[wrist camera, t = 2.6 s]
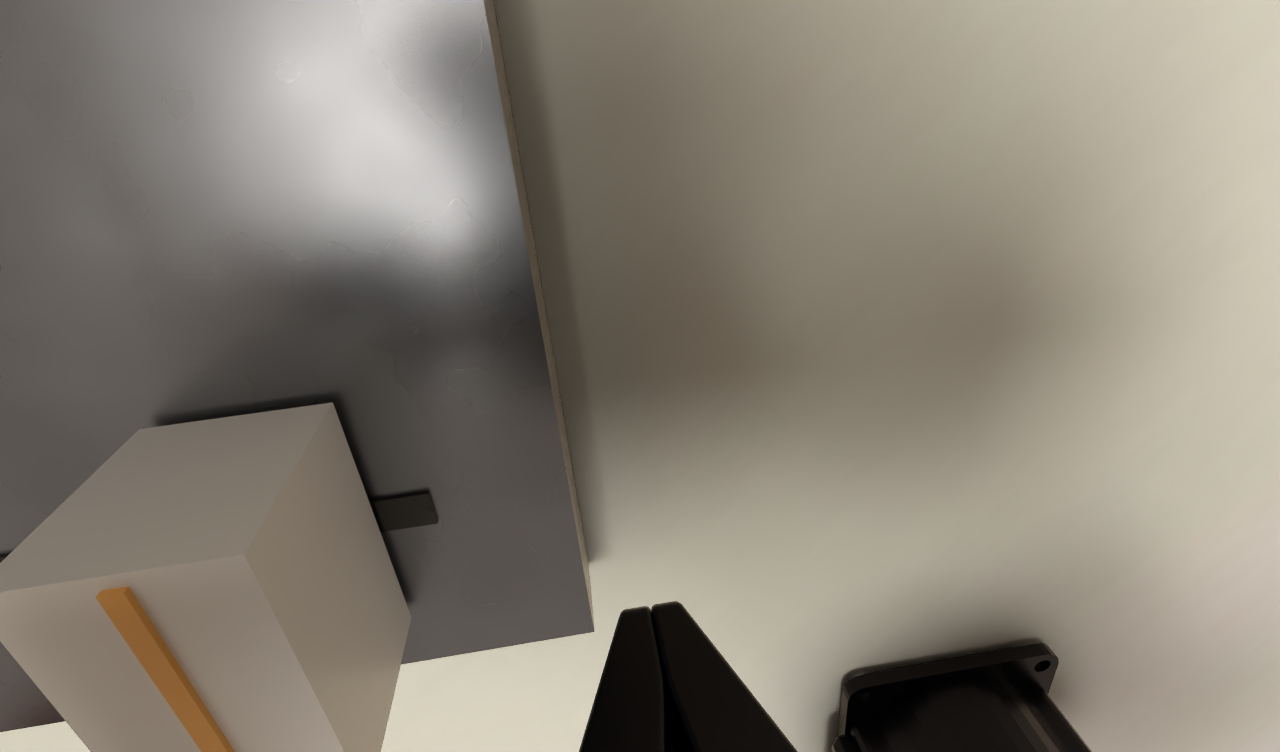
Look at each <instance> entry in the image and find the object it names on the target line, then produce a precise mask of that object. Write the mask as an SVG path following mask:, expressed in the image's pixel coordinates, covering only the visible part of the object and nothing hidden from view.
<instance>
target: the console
mask: <svg viewBox="0 0 1280 752" xmlns="http://www.w3.org/2000/svg"><path fill="white" fill-rule="evenodd" d="M332 402H333V404H334V407H335V410H336V413H337V415H338V418H339V421H340V424H341V426H342V429H343V432H344V435H345V437H346V440H347V443H348V445H349V448H350V451H351V454H352V456H353V459H354V462H355V465H356V467H357V470H358V473H359V475H360V478H361V481H362V484H363V486H364V489H365V492H366V495H367V497H368V500H369V503H370V506H371V508H372V511H373V514H374V516H375V519H376V522H377V525H378V527H379V530H380V533H381V536H382V538H383V541H384V544H385V546H386V549H387V552H388V555H389V557H390V560H391V563H392V566H393V568H394V571H395V574H396V577H397V579H398V582H399V585H400V587H401V590H402V593H403V596H404V598H405V601H406V604H407V607H408V609H409V612H410V615H411V617H412V618H411V622H410V626H409V631H408V635H407V639H406V644H405V648H404V652H403V657H402V661H401V664H406V663H412V662H418V661H424V660H430V659H436V658H441V657H447V656H453V655H459V654H465V653H471V652H477V651H483V650H489V649H495V648H501V647H507V646H513V645H518V644H524V643H530V642H536V641H542V640H548V639H554V638H560V637H566V636H572V635H578V634H584V633H589V632H594V621H593V609H592V597H591V586H590V574H589V564H588V558H587V552H586V546H585V540H584V534H583V528H582V522H581V516H580V510H579V504H578V499H577V493H576V487H575V481H574V475H573V469H572V463H571V457H570V451H569V445H568V439H567V434H566V428H565V422H564V416H563V410H562V404H561V398H560V392H559V386H558V380H557V374H556V369H555V363H554V357H553V351H552V345H551V339H550V333H549V327H548V321H547V315H546V310H545V304H544V298H543V292H542V286H541V280H540V274H539V268H538V262H537V256H536V250H535V245H534V239H533V233H532V227H531V221H530V215H529V209H528V203H527V197H526V191H525V185H524V180H523V174H522V168H521V162H520V156H519V150H518V144H517V138H516V132H515V126H514V120H513V115H512V109H511V103H510V97H509V91H508V85H507V79H506V73H505V67H504V61H503V55H502V50H501V44H500V38H499V32H498V26H497V20H496V14H495V8H494V2H493V0H0V563H1V562H2V561H3V560H4V559H5V558H6V557H7V556H8V555H9V554H10V553H11V552H12V551H13V550H14V549H15V548H16V547H17V546H18V545H19V544H21V543H22V542H23V541H24V540H25V539H26V538H27V537H28V536H29V535H30V534H31V533H32V532H33V531H34V530H35V529H36V528H37V527H38V526H39V525H40V524H41V523H42V522H43V521H44V520H45V519H46V518H48V517H49V516H50V515H51V514H52V513H53V512H54V511H55V510H56V509H57V508H58V507H59V506H60V505H61V504H62V503H63V502H64V501H65V500H66V499H67V498H68V497H69V496H70V495H71V494H72V493H74V492H75V491H76V490H77V489H78V488H79V487H80V486H81V485H82V484H83V483H84V482H85V481H86V480H87V479H88V478H89V477H90V476H91V475H92V474H93V473H94V472H95V471H96V470H97V469H98V468H99V467H101V466H102V465H103V464H104V463H105V462H106V461H107V460H108V459H109V458H110V457H111V456H112V455H113V454H114V453H115V452H116V451H117V450H118V449H119V448H120V447H121V446H122V445H123V444H124V443H125V442H127V441H128V440H129V439H130V438H131V437H132V436H133V435H134V434H135V433H136V432H137V431H138V430H139V429H144V428H151V427H158V426H165V425H173V424H180V423H187V422H194V421H202V420H209V419H216V418H223V417H231V416H238V415H245V414H252V413H260V412H267V411H274V410H281V409H289V408H296V407H303V406H310V405H318V404H325V403H332ZM63 721H65V720H64V718H63V717H62V716H61V715H60V713H59V712H58V711H57V710H56V709H55V707H54V706H53V705H52V704H51V703H50V701H49V700H48V699H47V698H46V696H45V695H44V694H43V693H42V692H41V690H40V689H39V688H38V687H37V685H36V684H35V683H34V682H33V681H32V679H31V678H30V677H29V676H28V675H27V673H26V672H25V671H24V670H23V668H22V667H21V666H20V665H19V664H18V662H17V661H16V660H15V659H14V658H13V656H12V655H11V654H10V653H9V651H8V650H7V649H6V648H5V647H4V645H3V644H2V643H1V642H0V732H3V731H9V730H15V729H21V728H27V727H33V726H39V725H45V724H51V723H57V722H63Z"/></svg>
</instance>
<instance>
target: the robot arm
mask: <svg viewBox="0 0 1280 752" xmlns="http://www.w3.org/2000/svg"><path fill="white" fill-rule="evenodd" d="M1057 665H1058V658H1057V656H1056V655H1055V654H1054V653H1053V652H1052V650H1051V649H1050V648H1049V647H1048V646H1047V645H1046V644H1043V643H1038V644H1032V645H1026V646H1020V647H1015V648H1009V649H1004V650H998V651H993V652H987V653H981V654H976V655H970V656H965V657H959V658H954V659H948V660H942V661H937V662H931V663H926V664H920V665H915V666H909V667H903V668H898V669H892V670H887V671H881V672H876V673H870V674H864V675H859V676H856V677H853V678H852V679H850V680H848V681H847V682H846V683H845V684H844V686H843V689H842V698H841V708H840V719H839V729H838V736H836V738H835V740H834V742H833V744H832V749H831V752H1091V750H1090V749H1089V748H1088V746H1087V745H1086V744H1085V742H1084V741H1083V740H1082V738H1081V737H1080V736H1079V735H1078V733H1077V732H1076V731H1075V729H1074V728H1073V727H1072V725H1071V724H1070V723H1069V722H1068V720H1067V719H1066V718H1065V716H1064V715H1063V714H1062V712H1061V711H1060V710H1059V709H1058V707H1057V706H1056V705H1055V703H1054V702H1053V701H1052V699H1051V698H1050V697H1049V696H1048V692H1049V689H1050V686H1051V683H1052V680H1053V677H1054V674H1055V671H1056V668H1057ZM579 752H797V750H796V749H795V748H794V746H793V745H792V744H791V743H790V741H789V740H788V739H787V738H786V736H785V735H784V734H783V732H782V731H781V730H780V729H779V727H778V726H777V725H776V724H775V722H774V721H773V720H772V718H771V717H770V716H769V715H768V713H767V712H766V711H765V710H764V708H763V707H762V706H761V704H760V703H759V702H758V701H757V699H756V698H755V697H754V696H753V694H752V693H751V692H750V691H749V689H748V688H747V687H746V685H745V684H744V683H743V682H742V680H741V679H740V678H739V677H738V675H737V674H736V673H735V671H734V670H733V669H732V668H731V666H730V665H729V664H728V663H727V661H726V660H725V659H724V657H723V656H722V655H721V654H720V652H719V651H718V650H717V649H716V647H715V646H714V645H713V643H712V642H711V641H710V640H709V638H708V637H707V636H706V635H705V633H704V632H703V631H702V630H701V628H700V627H699V626H698V624H697V623H696V622H695V621H694V619H693V618H692V617H691V616H690V614H689V613H688V612H687V610H686V609H685V608H684V607H683V605H682V604H680V603H679V602H677V601H674V602H668V603H662V604H656V605H654V606H653V607H652V608H651V610H650V608H649V607H647V606H643V607H637V608H631V609H626V610H623V611H622V612H621V614H620V617H619V620H618V623H617V626H616V630H615V633H614V636H613V640H612V643H611V646H610V650H609V653H608V656H607V660H606V663H605V666H604V670H603V673H602V676H601V680H600V683H599V686H598V690H597V693H596V696H595V700H594V703H593V706H592V710H591V713H590V716H589V720H588V723H587V726H586V730H585V733H584V736H583V740H582V743H581V746H580V750H579Z"/></svg>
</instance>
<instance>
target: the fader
mask: <svg viewBox="0 0 1280 752" xmlns="http://www.w3.org/2000/svg"><path fill="white" fill-rule="evenodd" d="M411 618H412V617H411V615H410V612H409V609H408V607H407V604H406V601H405V598H404V596H403V593H402V590H401V587H400V585H399V582H398V579H397V577H396V574H395V571H394V568H393V566H392V563H391V560H390V557H389V555H388V552H387V549H386V546H385V544H384V541H383V538H382V536H381V533H380V530H379V527H378V525H377V522H376V519H375V516H374V514H373V511H372V508H371V506H370V503H369V500H368V497H367V495H366V492H365V489H364V486H363V484H362V481H361V478H360V475H359V473H358V470H357V467H356V465H355V462H354V459H353V456H352V454H351V451H350V448H349V445H348V443H347V440H346V437H345V435H344V432H343V429H342V426H341V424H340V421H339V418H338V415H337V413H336V410H335V407H334V404H333V402H332V403H325V404H318V405H310V406H303V407H296V408H289V409H281V410H274V411H267V412H260V413H252V414H245V415H238V416H231V417H223V418H216V419H209V420H202V421H194V422H187V423H180V424H173V425H165V426H158V427H151V428H144V429H139V430H138V431H137V432H136V433H135V434H134V435H133V436H132V437H131V438H130V439H129V440H128V441H127V442H125V443H124V444H123V445H122V446H121V447H120V448H119V449H118V450H117V451H116V452H115V453H114V454H113V455H112V456H111V457H110V458H109V459H108V460H107V461H106V462H105V463H104V464H103V465H102V466H101V467H99V468H98V469H97V470H96V471H95V472H94V473H93V474H92V475H91V476H90V477H89V478H88V479H87V480H86V481H85V482H84V483H83V484H82V485H81V486H80V487H79V488H78V489H77V490H76V491H75V492H74V493H72V494H71V495H70V496H69V497H68V498H67V499H66V500H65V501H64V502H63V503H62V504H61V505H60V506H59V507H58V508H57V509H56V510H55V511H54V512H53V513H52V514H51V515H50V516H49V517H48V518H46V519H45V520H44V521H43V522H42V523H41V524H40V525H39V526H38V527H37V528H36V529H35V530H34V531H33V532H32V533H31V534H30V535H29V536H28V537H27V538H26V539H25V540H24V541H23V542H22V543H21V544H19V545H18V546H17V547H16V548H15V549H14V550H13V551H12V552H11V553H10V554H9V555H8V556H7V557H6V558H5V559H4V560H3V561H2V562H1V563H0V642H1V643H2V644H3V645H4V647H5V648H6V649H7V650H8V651H9V653H10V654H11V655H12V656H13V658H14V659H15V660H16V661H17V662H18V664H19V665H20V666H21V667H22V668H23V670H24V671H25V672H26V673H27V675H28V676H29V677H30V678H31V679H32V681H33V682H34V683H35V684H36V685H37V687H38V688H39V689H40V690H41V692H42V693H43V694H44V695H45V696H46V698H47V699H48V700H49V701H50V703H51V704H52V705H53V706H54V707H55V709H56V710H57V711H58V712H59V713H60V715H61V716H62V717H63V718H64V720H65V721H66V722H67V723H68V724H69V726H70V727H71V728H72V729H73V730H74V732H75V733H76V734H77V735H78V737H79V738H80V739H81V740H82V741H83V743H84V744H85V745H86V746H87V748H88V749H89V750H90V751H91V752H381V748H382V744H383V739H384V735H385V731H386V726H387V722H388V718H389V713H390V709H391V704H392V700H393V696H394V691H395V687H396V683H397V678H398V674H399V670H400V665H401V661H402V657H403V652H404V648H405V644H406V639H407V635H408V631H409V626H410V622H411Z"/></svg>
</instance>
